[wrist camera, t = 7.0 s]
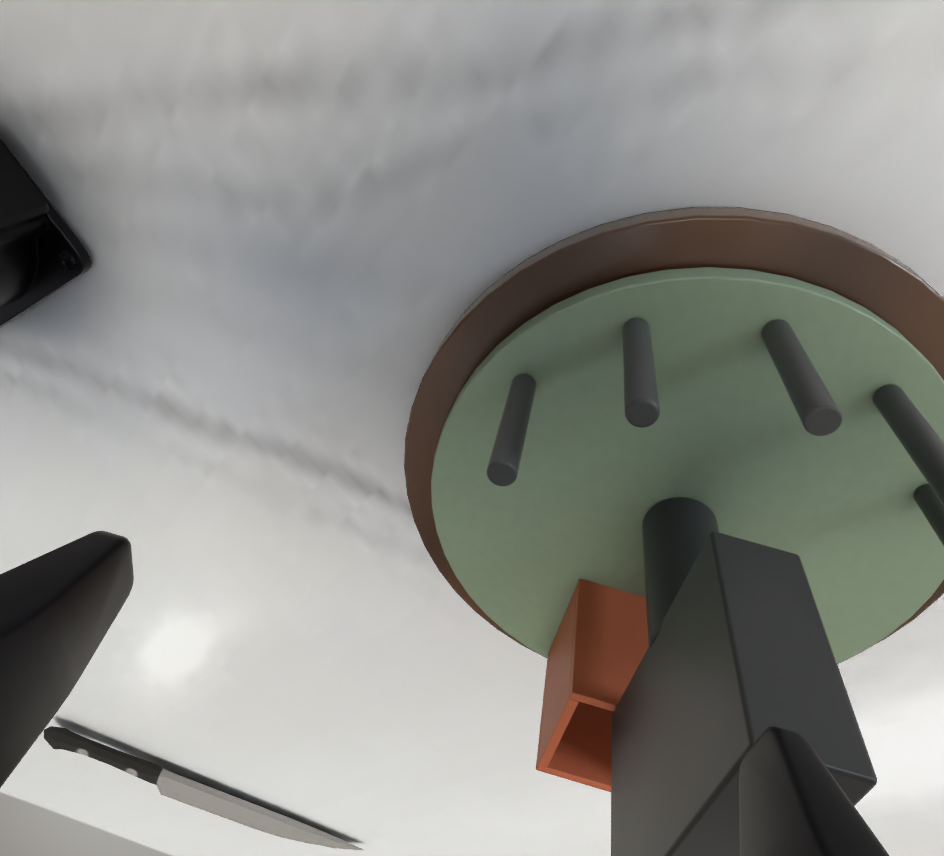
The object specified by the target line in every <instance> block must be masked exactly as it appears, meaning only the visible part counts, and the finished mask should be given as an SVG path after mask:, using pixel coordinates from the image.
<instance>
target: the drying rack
mask: <svg viewBox="0 0 944 856" xmlns="http://www.w3.org/2000/svg"><path fill="white" fill-rule="evenodd" d="M431 494H432V510H433V515H434V520H435V526H436V531H437V534H438V537H439V540H440V543H441V545H442V548H443V551H444V554H445V556H446V558H447V560H448V562H449V564H450V566H451V568H452V570H453V572H454V574H455V575H456V577H457V579H458V580H459V582H460V583H461V584H462V586H463V587H464V589H465V590H466V591H467V593H468V594H469V596H470V597H471V598H472V599H473V600H474V602H475V603H476V604H477V605H478V606H479V607H480V608H481V609H482V610H483V611H484V613H485V614H486V615H487V616H488V617H489V618H491V619H492V620H493V621H494V622H495V623H496V624H497V625H499V626H500V627H501V628H502V629H503V630H504V631H505V632H507V633H508V634H509V635H511V636H512V637H514V638H515V639H517V640H518V641H519V642H521V643H522V644H524V645H525V646H527V647H528V648H530V649H532V650H533V651H535V652H537V653H539V654H541V655H542V656H544V657H546V658H548V659H547V669H546V678H545V688H544V697H543V706H542V716H541V725H540V735H539V744H538V754H537V763H536V770H538V771H542V772H545V773H549V774H552V775H555V776H559V777H562V778H565V779H569V780H572V781H575V782H579V783H582V784H585V785H589V786H592V787H595V788H599V789H602V790H605V791H609V792H611V856H740V831H739V769H740V764H741V762H742V759H743V757H744V756H745V754H746V753H747V752H748V751H749V749H750V748H751V747H752V746H753V745H754V743H755V742H756V741H757V740H758V738H759V737H760V736H761V735H762V733H763V732H764V731H765V730H766V729H767V728H769V727H772V726H774V727H779V728H782V729H786V730H789V731H792V732H796V733H798V734H800V735H802V736H803V737H804V738H805V739H806V740H807V741H808V743H809V744H810V745H811V747H812V748H813V750H814V751H815V752H816V754H817V755H818V757H819V758H820V759H821V761H822V762H823V764H824V765H825V766H826V768H827V769H828V771H829V772H830V773H831V775H832V776H833V778H834V779H835V780H836V782H837V783H838V785H839V786H840V787H841V789H842V790H843V792H844V793H845V794H846V796H847V797H848V799H849V800H850V801H851V803H852V804H853V806H855V805H856V804H857V803H858V802H859V801H860V800H861V799H862V798H863V797H864V796H865V795H866V794H867V793H868V792H869V791H870V790H871V789H872V788H873V787H874V786H875V785H876V782H877V778H876V775H875V772H874V769H873V766H872V763H871V760H870V758H869V755H868V752H867V749H866V746H865V743H864V740H863V737H862V735H861V732H860V729H859V726H858V723H857V720H856V717H855V714H854V711H853V709H852V706H851V703H850V700H849V697H848V694H847V691H846V688H845V686H844V683H843V680H842V677H841V674H840V671H839V668H838V665H837V664H839V663H841V662H843V661H845V660H847V659H849V658H851V657H853V656H855V655H857V654H859V653H861V652H863V651H864V650H866V649H867V648H869V647H871V646H872V645H874V644H875V643H877V642H879V641H880V640H882V639H883V638H885V637H887V636H888V635H889V634H890V633H892V632H893V631H894V630H895V629H897V628H898V627H899V626H900V625H902V624H903V623H904V622H905V621H907V620H908V619H909V618H910V617H912V616H913V614H914V613H915V612H916V611H917V610H918V609H919V608H920V607H921V606H922V605H923V604H924V603H925V602H926V601H927V600H928V599H929V598H930V597H931V596H932V595H933V593H934V592H935V591H936V589H937V588H938V587H939V585H940V584H941V583H942V581H943V580H944V380H943V379H942V378H941V376H940V375H939V374H938V372H937V371H936V369H935V368H934V367H933V365H932V364H931V363H930V362H929V361H928V360H927V359H926V358H925V357H924V356H923V355H922V354H921V353H920V352H919V351H918V350H917V349H916V348H915V347H914V346H913V345H912V344H911V343H910V342H909V341H908V340H907V339H906V338H905V337H904V336H903V335H902V334H901V333H900V332H899V331H898V330H897V329H895V328H894V327H892V326H891V325H890V324H888V323H887V322H885V321H884V320H882V319H881V318H879V317H878V316H877V315H875V314H874V313H872V312H871V311H869V310H868V309H867V308H865V307H863V306H861V305H859V304H857V303H855V302H853V301H851V300H849V299H847V298H845V297H843V296H841V295H839V294H837V293H835V292H833V291H831V290H828V289H825V288H822V287H819V286H816V285H813V284H810V283H807V282H804V281H801V280H798V279H795V278H792V277H786V276H781V275H776V274H771V273H765V272H760V271H755V270H748V269H732V268H716V267H701V268H685V269H669V270H662V271H656V272H651V273H646V274H640V275H635V276H629V277H625V278H622V279H619V280H615V281H612V282H609V283H606V284H603V285H599V286H596V287H593V288H590V289H587V290H585V291H583V292H581V293H579V294H576V295H574V296H572V297H570V298H568V299H565V300H563V301H561V302H559V303H557V304H554V305H553V306H551V307H550V308H548V309H546V310H545V311H543V312H541V313H540V314H538V315H537V316H535V317H533V318H532V319H530V320H529V321H527V322H525V323H524V324H523V325H521V326H520V327H519V328H518V329H516V330H515V331H514V332H513V333H512V334H510V335H509V336H508V337H507V338H505V339H504V340H503V341H502V342H501V343H499V344H498V345H497V346H496V347H495V348H494V349H493V350H492V352H491V353H490V354H489V355H488V356H487V357H486V358H485V359H484V360H483V361H482V362H481V364H480V365H479V366H478V367H477V368H476V369H475V371H474V372H473V374H472V375H471V376H470V378H469V379H468V381H467V382H466V384H465V385H464V387H463V388H462V390H461V391H460V393H459V394H458V397H457V399H456V401H455V403H454V405H453V407H452V409H451V411H450V413H449V415H448V417H447V420H446V422H445V424H444V427H443V429H442V432H441V435H440V439H439V442H438V445H437V449H436V452H435V456H434V463H433V471H432V479H431Z"/></svg>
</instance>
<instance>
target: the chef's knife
mask: <svg viewBox="0 0 944 856" xmlns="http://www.w3.org/2000/svg"><path fill="white" fill-rule="evenodd" d="M44 739H45V740H46V741H47V742H48V743H49V744H50V745H51V746H52V747H53V749H64V750H68V751H72V752H76V753H79V754H83V755H86V756H88V757H91V758H94V759H96V760H99V761H101V762H104V763H107V764H109V765H112V766H114V767H116V768H118V769H121V770H123V771H125V772H127V773H129V774H132V775H134V776H136V777H138V778H141V779H143V780H145V781H147V782H150V783H153V784H156V785H157V787H158V789H159V791H160V793H161V795H164V796H167V797H169V798H172V799H175V800H178V801H180V802H183V803H186V804H188V805H191V806H194V807H197V808H199V809H202V810H205V811H208V812H210V813H213V814H216V815H219V816H221V817H224V818H227V819H229V820H232V821H235V822H238V823H240V824H243V825H246V826H249V827H251V828H254V829H257V830H260V831H263V832H267V833H270V834H273V835H276V836H279V837H283V838H288V839H292V840H296V841H301V842H305V843H310V844H316V845H322V846H326V847H331V848H340V849H355V850H363V849H361V848H358V847H356V846H354V845H352V844H350V843H348V842H346V841H344V840H342V839H339V838H337V837H335V836H332V835H330V834H328V833H325V832H323V831H321V830H318V829H316V828H313V827H311V826H308V825H306V824H304V823H301V822H299V821H296V820H294V819H291V818H289V817H286V816H284V815H281V814H278V813H276V812H273V811H271V810H268V809H265V808H263V807H260V806H258V805H255V804H252V803H250V802H247V801H245V800H242V799H239V798H237V797H234V796H232V795H229V794H227V793H224V792H221V791H219V790H216V789H214V788H211V787H208V786H206V785H203V784H201V783H198V782H195V781H193V780H190V779H188V778H185V777H182V776H180V775H177V774H175V773H172V772H169V771H167V770H165V769H163V768H162V767H161V766H159V765H157V764H155V763H152V762H149V761H146V760H143V759H140V758H138V757H135V756H132V755H129V754H127V753H124V752H121V751H118V750H116V749H113V748H110V747H108V746H105V745H103V744H100V743H97V742H95V741H92V740H90V739H87V738H85V737H83V736H80V735H78V734H76V733H73V732H71V731H70V730H68V729H66V728H60V727H49V728H47V729H45V730H44Z"/></svg>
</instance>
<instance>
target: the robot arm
mask: <svg viewBox="0 0 944 856" xmlns="http://www.w3.org/2000/svg"><path fill="white" fill-rule="evenodd" d="M69 254H70V255H71V256H72V257H73V258H74V260H75V262H76V264H75V263H74V262H73V261H72V260H71V258H70V255H69ZM90 267H91V259H90V256H89V254H88V252H87V250H86V249H85V248H84V247H83V245H82V244H81V243H80V241H79V240H78V239H77V237H76V236H75V235H74V234H73V232H72V231H71V230H70V228H69V227H68V226H67V224H66V223H65V222H64V221H63V219H62V218H61V217H60V215H59V214H58V213H57V211H56V210H55V209H54V208H53V206H52V205H51V204H50V202H49V201H48V200H47V198H46V197H45V196H44V195H43V193H42V192H41V191H40V189H39V188H38V187H37V186H36V184H35V183H34V182H33V180H32V179H31V178H30V176H29V175H28V174H27V173H26V171H25V170H24V169H23V167H22V166H21V165H20V163H19V162H18V161H17V160H16V158H15V157H14V156H13V154H12V153H11V152H10V150H9V149H8V148H7V147H6V145H5V144H4V143H3V141H2V140H1V139H0V327H2V326H3V325H5V324H6V323H8V322H9V321H11V320H12V319H14V318H15V317H17V316H19V315H20V314H22V313H23V312H25V311H26V310H28V309H29V308H31V307H32V306H34V305H36V304H37V303H39V302H40V301H42V300H43V299H45V298H46V297H48V296H49V295H51V294H53V293H54V292H56V291H57V290H59V289H60V288H62V287H63V286H65V285H66V284H68V283H70V282H71V281H73V280H74V279H76V278H77V277H79V276H80V275H82V274H84V273H85V272H87V271H88V270H89V269H90ZM133 579H134V576H133V565H132V553H131V544H130V542H129V540H128V539H127V538H125V537H123V536H119V535H116V534H112V533H109V532H105V531H97V532H93V533H90V534H88V535H86V536H84V537H82V538H79V539H77V540H75V541H73V542H71V543H68V544H66V545H64V546H62V547H60V548H57V549H55V550H53V551H51V552H49V553H46V554H44V555H42V556H40V557H38V558H36V559H33V560H31V561H29V562H27V563H25V564H22V565H20V566H18V567H16V568H14V569H11V570H9V571H7V572H5V573H3V574H0V788H1V786H2V785H3V784H4V782H5V781H6V779H7V778H8V777H9V775H10V774H11V773H12V771H13V770H14V769H15V767H16V766H17V765H18V763H19V762H20V761H21V759H22V758H23V757H24V755H25V754H26V753H27V751H28V750H29V749H30V747H31V746H32V745H33V743H34V742H35V741H36V739H37V738H38V736H39V735H40V734H41V732H42V731H43V730H44V728H45V727H46V726H47V724H48V723H49V722H50V720H51V719H52V718H53V716H54V715H55V714H56V712H57V711H58V709H59V708H60V707H61V705H62V704H63V702H64V701H65V700H66V698H67V697H68V695H69V694H70V692H71V691H72V689H73V688H74V686H75V684H76V683H77V681H78V680H79V678H80V676H81V675H82V673H83V671H84V670H85V668H86V666H87V665H88V663H89V661H90V660H91V658H92V656H93V655H94V653H95V651H96V649H97V648H98V646H99V644H100V643H101V641H102V639H103V638H104V636H105V634H106V633H107V631H108V629H109V628H110V626H111V624H112V623H113V621H114V619H115V618H116V616H117V614H118V613H119V611H120V609H121V608H122V606H123V604H124V603H125V601H126V599H127V597H128V596H129V594H130V591H131V589H132V586H133ZM739 831H740V856H889V854H888V853H887V852H886V850H885V849H884V847H883V846H882V845H881V843H880V842H879V841H878V839H877V838H876V836H875V835H874V834H873V832H872V831H871V829H870V828H869V827H868V825H867V824H866V822H865V821H864V820H863V818H862V817H861V815H860V814H859V813H858V811H857V810H856V808H855V807H854V806H853V804H852V803H851V801H850V800H849V799H848V797H847V796H846V794H845V793H844V792H843V790H842V789H841V787H840V786H839V785H838V783H837V782H836V780H835V779H834V778H833V776H832V775H831V773H830V772H829V771H828V769H827V768H826V766H825V765H824V764H823V762H822V761H821V759H820V758H819V757H818V755H817V754H816V752H815V751H814V750H813V748H812V747H811V745H810V744H809V743H808V741H807V740H806V739H805V738H804V737H803V736H802V735H800V734H798V733H796V732H792V731H789V730H786V729H782V728H779V727H774V726H772V727H769V728H767V729H766V730H765V731H764V732H763V733H762V735H761V736H760V737H759V738H758V740H757V741H756V742H755V743H754V745H753V746H752V747H751V748H750V749H749V751H748V752H747V753H746V754H745V756H744V757H743V759H742V762H741V764H740V769H739Z"/></svg>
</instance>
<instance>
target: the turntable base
mask: <svg viewBox="0 0 944 856" xmlns="http://www.w3.org/2000/svg"><path fill="white" fill-rule="evenodd" d="M701 267H716V268H732V269H748V270H755V271H760V272H765V273H771V274H776V275H781V276H786V277H792V278H795V279H798V280H801V281H804V282H807V283H810V284H813V285H816V286H819V287H822V288H825V289H828V290H831V291H833V292H835V293H837V294H839V295H841V296H843V297H845V298H847V299H849V300H851V301H853V302H855V303H857V304H859V305H861V306H863V307H865V308H867V309H868V310H869V311H871V312H872V313H874V314H875V315H877V316H878V317H879V318H881V319H882V320H884V321H885V322H887V323H888V324H890V325H891V326H892V327H894V328H895V329H897V330H898V331H899V332H900V333H901V334H902V335H903V336H904V337H905V338H906V339H907V340H908V341H909V342H910V343H911V344H912V345H913V346H914V347H915V348H916V349H917V350H918V351H919V352H920V353H921V354H922V355H923V356H924V357H925V358H926V359H927V360H928V361H929V362H930V363H931V364H932V365H933V367H934V368H935V369H936V371H937V372H938V374H939V375H940V376H941V378H942V379H943V380H944V298H943V297H942V296H940V295H939V294H938V293H937V292H936V291H935V290H934V289H933V288H931V287H930V286H929V285H928V284H927V283H926V282H925V281H924V280H923V279H921V278H920V277H919V276H918V275H917V274H915V273H914V272H913V271H912V270H911V269H909V268H908V267H907V266H905V265H903V264H902V263H900V262H899V261H897V260H896V259H894V258H892V257H891V256H889V255H888V254H886V253H885V252H883V251H881V250H880V249H878V248H877V247H875V246H873V245H872V244H870V243H867V242H865V241H863V240H861V239H858V238H856V237H854V236H851V235H849V234H847V233H845V232H842V231H840V230H838V229H835V228H833V227H831V226H827V225H824V224H820V223H817V222H813V221H809V220H806V219H802V218H799V217H795V216H791V215H788V214H782V213H775V212H767V211H760V210H752V209H745V208H684V209H676V210H668V211H660V212H652V213H645V214H641V215H637V216H633V217H629V218H625V219H621V220H617V221H614V222H610V223H606V224H602V225H599V226H597V227H594V228H592V229H589V230H587V231H584V232H581V233H579V234H576V235H574V236H571V237H569V238H566V239H564V240H561V241H559V242H558V243H556V244H554V245H552V246H550V247H548V248H547V249H545V250H543V251H541V252H539V253H538V254H536V255H534V256H532V257H530V258H529V259H527V260H525V261H523V262H522V263H521V264H519V265H518V266H517V267H515V268H514V269H513V270H511V271H510V272H509V273H507V274H506V275H505V276H503V277H502V278H501V279H499V280H498V281H496V282H495V283H494V284H492V285H491V286H490V287H489V288H488V289H487V290H486V291H485V292H484V293H483V294H482V295H481V296H480V297H479V298H478V299H477V300H476V301H475V302H474V303H473V304H472V305H471V306H470V307H469V308H468V309H467V310H466V311H465V312H464V314H463V315H462V316H461V318H460V319H459V320H458V321H457V323H456V324H455V325H454V327H453V328H452V329H451V331H450V332H449V333H448V334H447V336H446V337H445V338H444V340H443V342H442V344H441V346H440V347H439V349H438V351H437V353H436V355H435V356H434V358H433V360H432V362H431V364H430V365H429V367H428V369H427V371H426V373H425V375H424V376H423V378H422V381H421V384H420V386H419V389H418V392H417V394H416V397H415V400H414V402H413V405H412V408H411V413H410V418H409V423H408V428H407V432H406V438H405V460H404V469H405V478H406V487H407V495H408V499H409V503H410V507H411V510H412V514H413V518H414V522H415V524H416V526H417V529H418V531H419V534H420V536H421V538H422V541H423V543H424V545H425V547H426V549H427V551H428V553H429V554H430V556H431V558H432V559H433V561H434V563H435V564H436V566H437V568H438V569H439V571H440V572H441V573H442V575H443V576H444V577H445V579H446V580H447V581H448V582H449V584H450V585H451V586H452V588H453V589H454V590H455V591H456V593H457V594H458V595H459V596H460V597H461V598H462V599H463V600H464V601H465V602H466V603H467V604H468V605H469V606H470V607H471V608H472V609H473V610H474V611H475V612H477V613H478V614H479V615H480V616H481V617H483V618H484V619H485V620H486V621H488V622H489V623H490V624H491V625H493V626H494V627H495V628H496V629H498V630H499V631H501V632H502V633H504V634H505V635H507V636H508V637H510V638H512V639H513V640H515V641H516V642H518V643H519V644H521V645H523V646H525V645H524V644H522V643H521V642H519V641H518V640H517V639H515V638H514V637H512V636H511V635H509V634H508V633H507V632H505V631H504V630H503V629H502V628H501V627H500V626H499V625H497V624H496V623H495V622H494V621H493V620H492V619H491V618H489V617H488V616H487V615H486V614H485V613H484V611H483V610H482V609H481V608H480V607H479V606H478V605H477V604H476V603H475V602H474V600H473V599H472V598H471V597H470V596H469V594H468V593H467V591H466V590H465V589H464V587H463V586H462V584H461V583H460V582H459V580H458V579H457V577H456V575H455V574H454V572H453V570H452V568H451V566H450V564H449V562H448V560H447V558H446V556H445V554H444V551H443V548H442V545H441V543H440V540H439V537H438V534H437V531H436V526H435V520H434V515H433V510H432V494H431V479H432V471H433V463H434V456H435V452H436V449H437V445H438V442H439V439H440V435H441V432H442V429H443V427H444V424H445V422H446V420H447V417H448V415H449V413H450V411H451V409H452V407H453V405H454V403H455V401H456V399H457V397H458V394H459V393H460V391H461V390H462V388H463V387H464V385H465V384H466V382H467V381H468V379H469V378H470V376H471V375H472V374H473V372H474V371H475V369H476V368H477V367H478V366H479V365H480V364H481V362H482V361H483V360H484V359H485V358H486V357H487V356H488V355H489V354H490V353H491V352H492V350H493V349H494V348H495V347H496V346H497V345H498V344H499V343H501V342H502V341H503V340H504V339H505V338H507V337H508V336H509V335H510V334H512V333H513V332H514V331H515V330H516V329H518V328H519V327H520V326H521V325H523V324H524V323H525V322H527V321H529V320H530V319H532V318H533V317H535V316H537V315H538V314H540V313H541V312H543V311H545V310H546V309H548V308H550V307H551V306H553V305H554V304H557V303H559V302H561V301H563V300H565V299H568V298H570V297H572V296H574V295H576V294H579V293H581V292H583V291H585V290H587V289H590V288H593V287H596V286H599V285H603V284H606V283H609V282H612V281H615V280H619V279H622V278H625V277H629V276H635V275H640V274H646V273H651V272H656V271H662V270H669V269H685V268H701ZM943 593H944V580H943V581H942V583H941V584H940V585H939V587H938V588H937V589H936V591H935V592H934V593H933V595H932V596H931V597H930V598H929V599H928V600H927V601H926V602H925V603H924V604H923V605H922V606H921V607H920V608H919V609H918V610H917V611H916V612H915V613H914V614H913V616H912V617H910V618H909V619H908V620H907V621H905V622H904V623H903V624H902V625H900V626H899V627H898V628H897V629H895V630H894V631H893V632H892V633H890V634H889V635H888V636H887V637H889V636H890V635H892V634H893V633H895V632H896V631H898V630H899V629H901V628H902V627H903V626H905V625H906V624H908V623H909V622H911V621H912V620H914V619H915V618H916V617H917V616H919V615H920V614H921V613H922V612H923V611H924V610H926V609H927V608H928V607H929V606H930V605H931V604H932V603H934V602H935V601H936V600H937V599H938V598H939V597H940V596H941V595H942V594H943ZM887 637H885V638H883V639H882V640H884V639H886V638H887ZM882 640H880V641H882ZM880 641H879V642H880ZM877 643H878V642H877ZM875 644H876V643H875ZM875 644H874V645H875ZM872 646H873V645H872ZM525 647H527V646H525ZM527 648H528V647H527ZM528 649H530V648H528ZM530 650H532V649H530ZM532 651H533V650H532ZM534 652H535V651H534ZM536 653H537V652H536ZM538 654H539V653H538ZM540 655H541V654H540Z"/></svg>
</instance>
